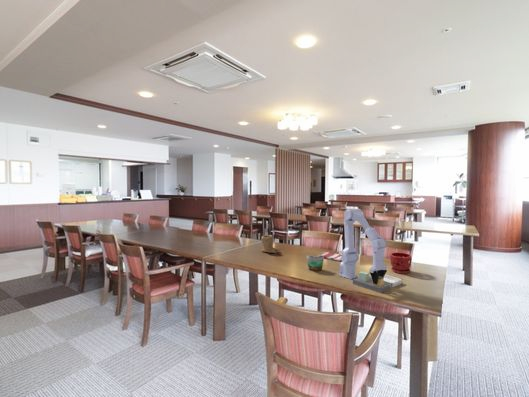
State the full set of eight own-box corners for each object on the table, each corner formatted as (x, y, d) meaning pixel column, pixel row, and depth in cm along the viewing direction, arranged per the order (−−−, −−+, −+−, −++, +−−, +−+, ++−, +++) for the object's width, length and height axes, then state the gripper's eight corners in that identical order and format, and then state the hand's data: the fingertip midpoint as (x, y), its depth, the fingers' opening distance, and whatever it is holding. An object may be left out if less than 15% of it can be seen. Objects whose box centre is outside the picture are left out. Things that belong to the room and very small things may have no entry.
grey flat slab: (352, 283, 169) (352, 279, 169) (361, 280, 175) (361, 276, 174) (380, 293, 155) (380, 288, 155) (389, 289, 160) (389, 284, 160)
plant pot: (392, 267, 201) (393, 251, 201) (413, 271, 193) (413, 254, 192) (387, 272, 191) (387, 254, 191) (408, 276, 183) (409, 258, 182)
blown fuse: (372, 287, 162) (372, 276, 162) (375, 286, 164) (375, 274, 164) (380, 290, 158) (380, 278, 158) (383, 289, 160) (383, 277, 160)
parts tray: (367, 280, 175) (368, 276, 175) (378, 276, 182) (378, 272, 182) (392, 287, 163) (392, 283, 163) (402, 283, 170) (402, 279, 170)
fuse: (358, 283, 169) (358, 272, 169) (361, 282, 171) (361, 271, 171) (366, 285, 165) (366, 274, 165) (368, 284, 167) (369, 273, 167)
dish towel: (344, 263, 214) (344, 259, 214) (317, 257, 229) (317, 254, 229) (353, 258, 227) (353, 255, 227) (327, 253, 242) (327, 250, 242)
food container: (306, 271, 192) (306, 257, 192) (306, 268, 198) (306, 254, 198) (324, 272, 191) (324, 257, 190) (324, 269, 197) (324, 255, 196)
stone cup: (258, 252, 245) (258, 235, 244) (266, 249, 254) (266, 233, 254) (272, 255, 236) (272, 237, 235) (280, 252, 246) (280, 235, 245)
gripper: (378, 263, 153) (377, 287, 153) (391, 258, 162) (391, 282, 162) (366, 260, 158) (365, 284, 159) (380, 256, 167) (379, 278, 168)
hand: (377, 282), depth 161 cm, fingers open, 5 cm apart
